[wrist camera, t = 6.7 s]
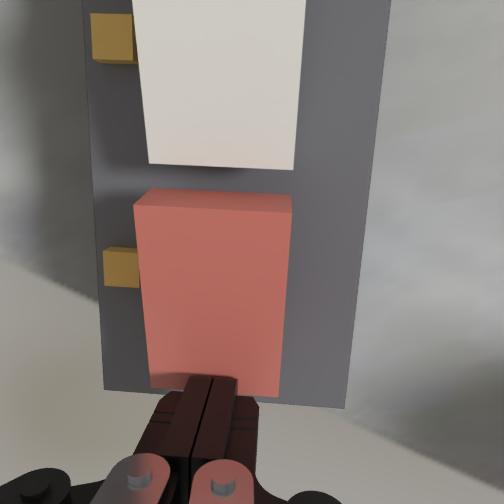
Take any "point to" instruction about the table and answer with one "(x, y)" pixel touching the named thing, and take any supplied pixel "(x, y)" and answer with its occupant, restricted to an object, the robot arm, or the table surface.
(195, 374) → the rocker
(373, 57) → the switch panel
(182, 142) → the block
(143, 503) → the robot arm
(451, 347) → the table surface
